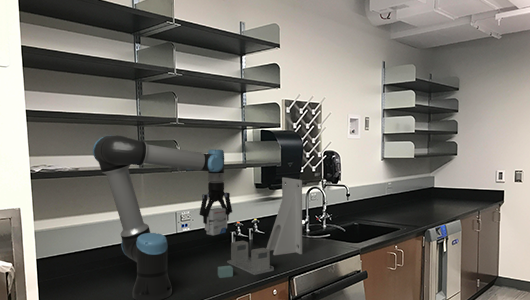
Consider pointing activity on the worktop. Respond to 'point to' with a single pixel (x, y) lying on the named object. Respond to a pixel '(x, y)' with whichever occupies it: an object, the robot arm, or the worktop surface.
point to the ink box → (217, 221)
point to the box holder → (255, 263)
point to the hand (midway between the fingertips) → (216, 229)
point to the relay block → (225, 271)
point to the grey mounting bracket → (288, 220)
